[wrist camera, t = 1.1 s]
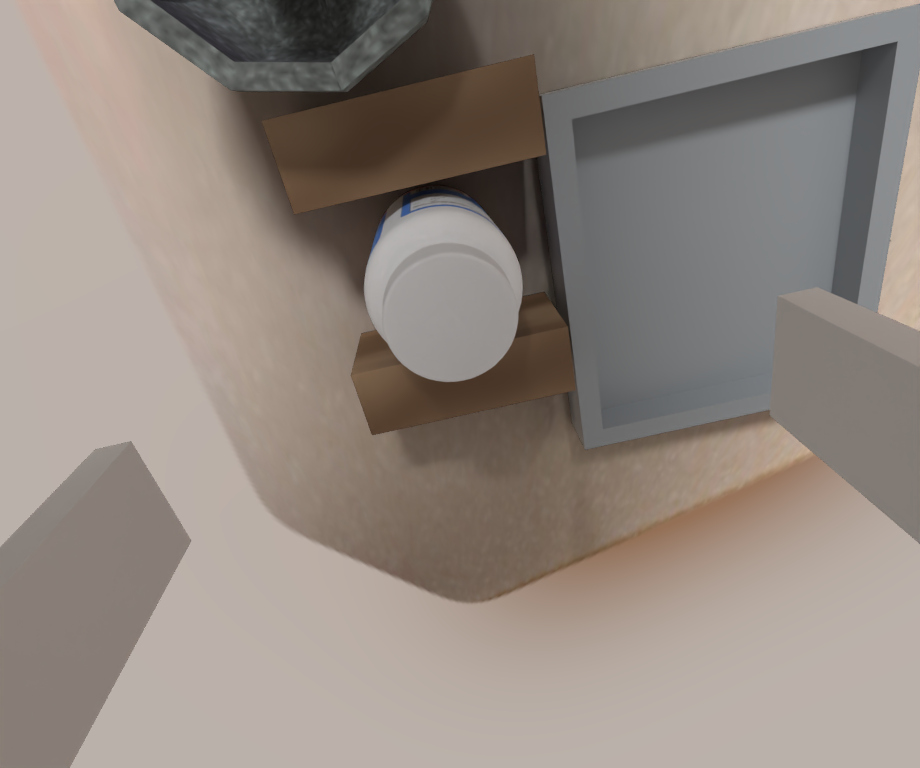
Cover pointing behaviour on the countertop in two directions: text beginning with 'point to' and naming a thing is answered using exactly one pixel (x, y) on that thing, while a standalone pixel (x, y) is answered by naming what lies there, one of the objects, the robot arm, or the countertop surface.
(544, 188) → the tray
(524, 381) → the slot holder
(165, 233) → the countertop surface
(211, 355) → the countertop surface
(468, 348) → the pill bottle
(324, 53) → the mortar and pestle
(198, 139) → the countertop surface
